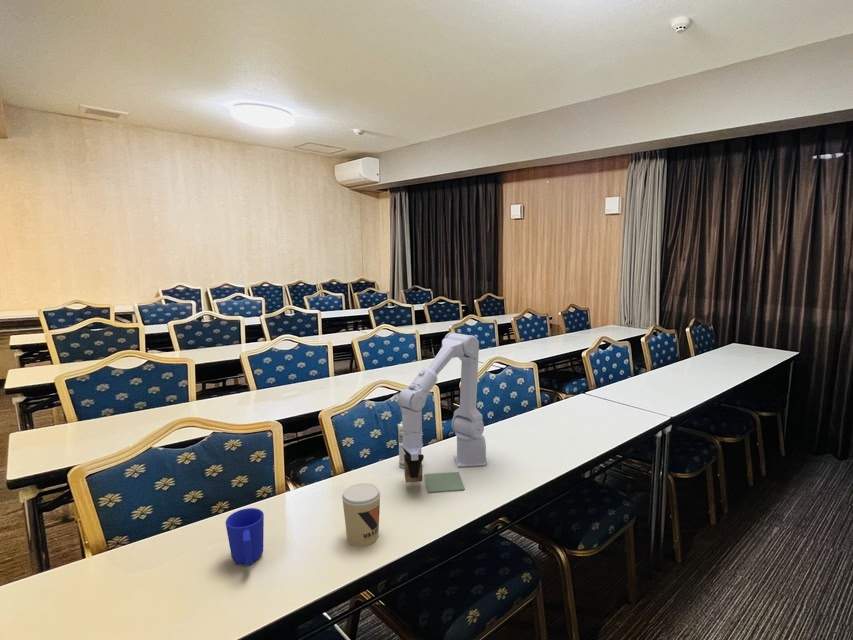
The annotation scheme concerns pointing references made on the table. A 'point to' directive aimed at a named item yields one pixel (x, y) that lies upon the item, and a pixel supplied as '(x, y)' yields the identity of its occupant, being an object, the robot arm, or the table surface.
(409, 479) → the walnut block
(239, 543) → the mug
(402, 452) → the syrup box
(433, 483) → the green mat
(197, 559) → the table surface
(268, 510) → the table surface
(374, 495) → the beige lidded canister
